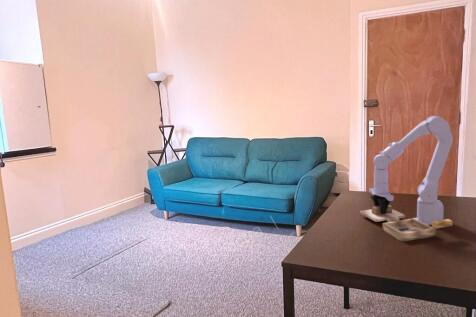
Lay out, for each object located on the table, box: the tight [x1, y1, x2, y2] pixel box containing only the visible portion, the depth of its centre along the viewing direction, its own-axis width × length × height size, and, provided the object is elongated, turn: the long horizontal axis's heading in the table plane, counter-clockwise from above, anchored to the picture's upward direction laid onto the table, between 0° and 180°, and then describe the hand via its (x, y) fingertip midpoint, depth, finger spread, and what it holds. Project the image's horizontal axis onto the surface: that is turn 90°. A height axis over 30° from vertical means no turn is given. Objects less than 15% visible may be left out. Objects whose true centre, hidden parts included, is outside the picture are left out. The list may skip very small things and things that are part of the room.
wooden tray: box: [382, 217, 436, 242], centre depth 133 cm, size 14×12×3 cm
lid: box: [359, 204, 406, 223], centre depth 148 cm, size 14×15×4 cm
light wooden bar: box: [431, 218, 453, 229], centre depth 126 cm, size 7×2×2 cm, turn 101°
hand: (380, 212), depth 149 cm, fingers closed on lid, 3 cm apart
